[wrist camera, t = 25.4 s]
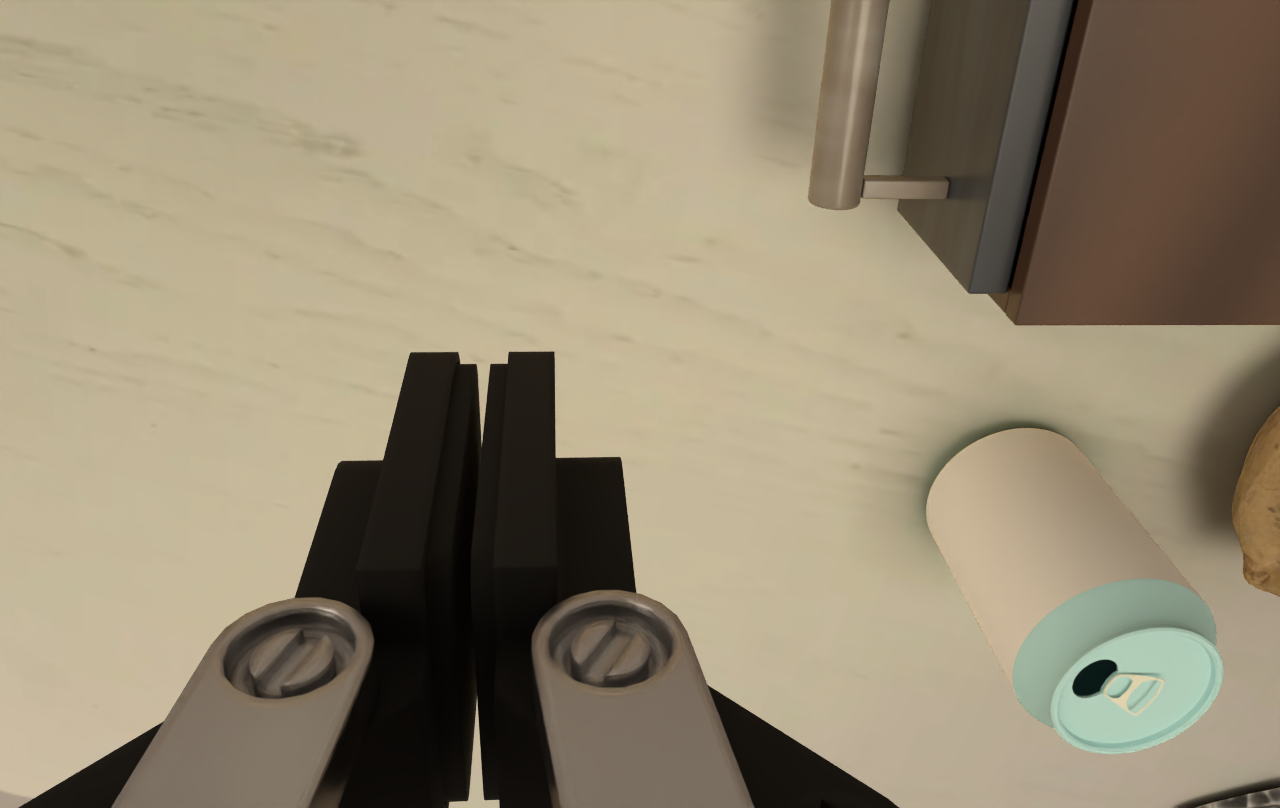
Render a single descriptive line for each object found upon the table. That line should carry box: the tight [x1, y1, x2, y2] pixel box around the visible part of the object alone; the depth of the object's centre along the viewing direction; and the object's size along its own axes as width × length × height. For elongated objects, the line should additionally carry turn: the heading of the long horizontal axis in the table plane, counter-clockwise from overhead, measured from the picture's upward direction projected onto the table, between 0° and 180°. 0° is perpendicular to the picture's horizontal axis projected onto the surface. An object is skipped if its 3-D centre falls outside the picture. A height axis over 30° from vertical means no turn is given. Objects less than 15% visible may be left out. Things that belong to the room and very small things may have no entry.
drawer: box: [808, 0, 1079, 294], centre depth 31 cm, size 17×10×7 cm, turn 88°
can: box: [926, 428, 1224, 754], centre depth 39 cm, size 7×7×12 cm
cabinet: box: [988, 0, 1280, 325], centre depth 32 cm, size 14×12×9 cm
